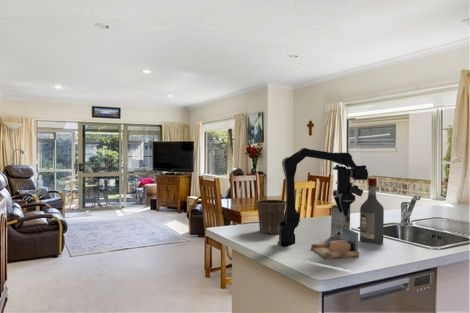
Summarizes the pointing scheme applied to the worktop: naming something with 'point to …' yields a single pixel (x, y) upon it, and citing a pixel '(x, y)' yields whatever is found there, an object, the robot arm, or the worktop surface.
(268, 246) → the worktop surface
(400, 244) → the worktop surface
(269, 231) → the plant pot
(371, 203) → the liquor
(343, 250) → the block
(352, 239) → the tailgate
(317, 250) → the square wooden tray
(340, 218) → the coffee box
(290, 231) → the robot arm
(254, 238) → the worktop surface
